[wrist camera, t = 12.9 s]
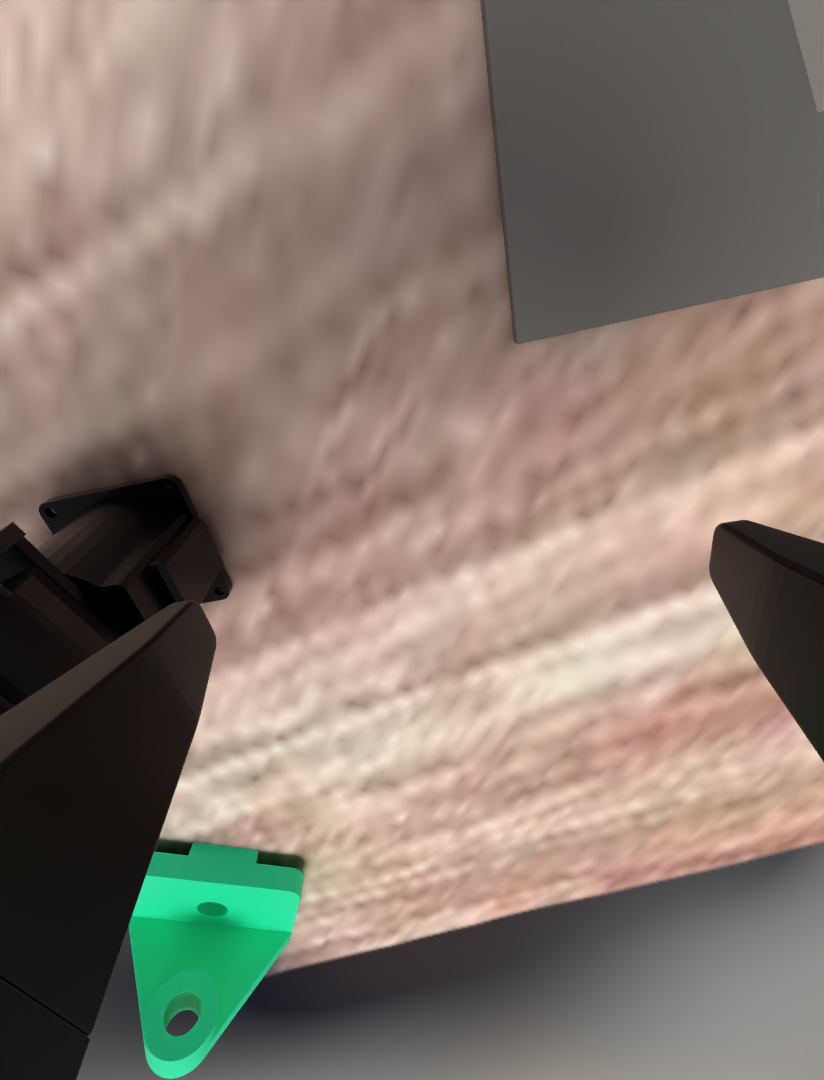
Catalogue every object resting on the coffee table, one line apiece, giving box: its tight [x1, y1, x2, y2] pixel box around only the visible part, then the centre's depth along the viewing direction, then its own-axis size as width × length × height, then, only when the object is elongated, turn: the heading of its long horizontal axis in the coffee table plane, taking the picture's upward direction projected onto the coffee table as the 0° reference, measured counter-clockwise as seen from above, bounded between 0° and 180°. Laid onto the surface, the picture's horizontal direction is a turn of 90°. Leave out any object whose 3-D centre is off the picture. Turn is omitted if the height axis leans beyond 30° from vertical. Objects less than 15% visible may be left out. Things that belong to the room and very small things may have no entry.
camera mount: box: [129, 842, 304, 1079], centre depth 34 cm, size 12×8×10 cm, turn 77°
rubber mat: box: [481, 0, 824, 344], centre depth 15 cm, size 15×13×1 cm
